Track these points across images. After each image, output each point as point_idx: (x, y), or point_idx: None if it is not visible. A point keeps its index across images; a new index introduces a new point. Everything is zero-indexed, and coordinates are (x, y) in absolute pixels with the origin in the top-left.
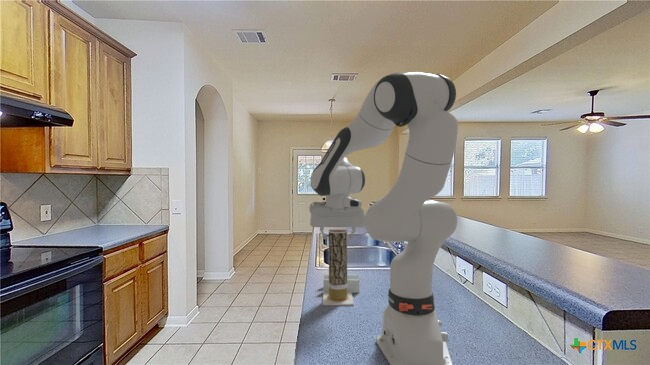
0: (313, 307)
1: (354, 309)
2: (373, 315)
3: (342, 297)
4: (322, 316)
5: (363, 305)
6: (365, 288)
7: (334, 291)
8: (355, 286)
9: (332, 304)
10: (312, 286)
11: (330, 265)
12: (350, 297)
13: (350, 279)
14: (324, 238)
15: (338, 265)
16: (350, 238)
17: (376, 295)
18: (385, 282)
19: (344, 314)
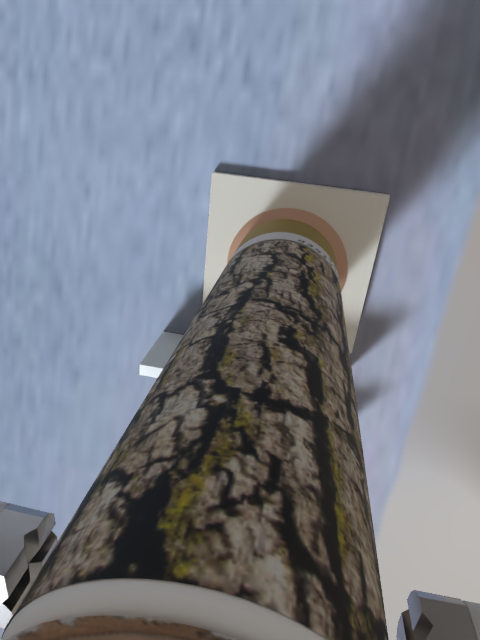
0: (449, 170)
1: (217, 116)
2: (123, 19)
3: (265, 223)
4: (424, 25)
5: (161, 168)
6: (128, 379)
7: (312, 238)
8: (173, 350)
9: (331, 188)
10: (390, 447)
11: (341, 329)
12: (217, 263)
13: None
14: (464, 609)
15: (272, 287)
16: (16, 511)
17: (83, 288)
18: (31, 429)
19: (284, 46)
